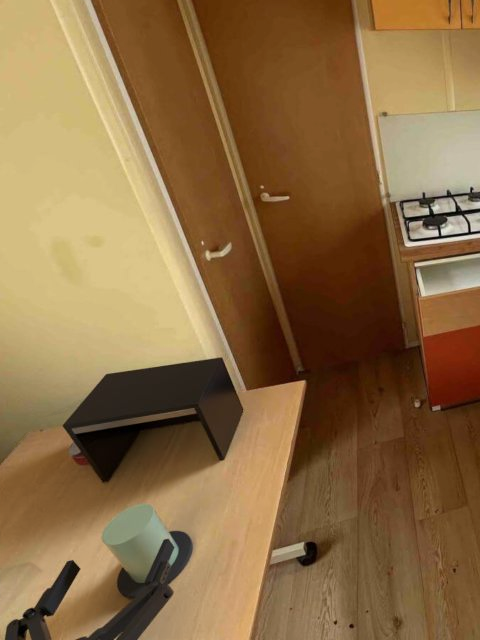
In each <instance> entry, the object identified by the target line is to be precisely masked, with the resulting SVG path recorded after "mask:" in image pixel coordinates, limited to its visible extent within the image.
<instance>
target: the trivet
mask: <svg viewBox="0 0 480 640" xmlns="http://www.w3.org/2000/svg"><path fill="white" fill-rule="evenodd" d="M169 533H170V534H171V536H172V538H173V539H174V541H175V542H176V544H177V545H178V555H177V557H176V559H175V561H174V563H173V564H172V565H171V568H170V571H169V573H168V576H167V578H166V580H165V583H168V584H169V585H170V584H171V583H172V582H173V581H174V580H175V579H176V578H178V577H179V575H180V574H181V573H182V572H183V571H184V569H185V568H186V567H187V565H188V563H189V561H190V559H191V558H192V554H193V550H194V544H193V543H194V542H193V540H192V539H191V537H190V535H189V534H188V533H186V532H185V531H182V530H171V531H169ZM116 587H117V590H118V592H119V593H120V594H121V595H122V596H123V597H124V598H126V599H128V600H129V599H130V600H133V599H134V598H135V597H136V596H137V595H138V594H139V593H140V592H141V591H142V590H144V589H145V588H146V587H147V586H146V584H145V583H137V582H135V581H133V580H132V578H131V577H130V576H129V574H128V573H127V572H126V571H125V569H124V568H123V567H122V566H121V569H120V571H119V573H118V576H117V581H116Z"/></svg>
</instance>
